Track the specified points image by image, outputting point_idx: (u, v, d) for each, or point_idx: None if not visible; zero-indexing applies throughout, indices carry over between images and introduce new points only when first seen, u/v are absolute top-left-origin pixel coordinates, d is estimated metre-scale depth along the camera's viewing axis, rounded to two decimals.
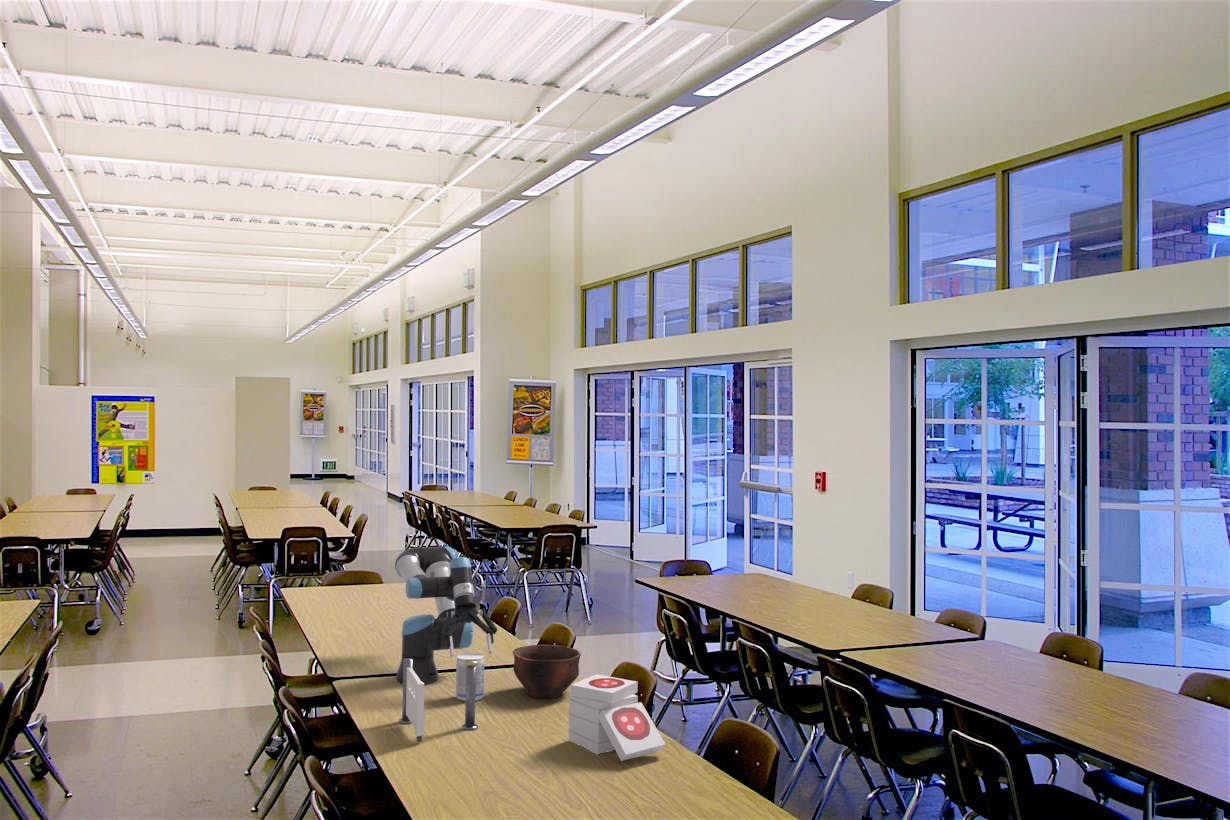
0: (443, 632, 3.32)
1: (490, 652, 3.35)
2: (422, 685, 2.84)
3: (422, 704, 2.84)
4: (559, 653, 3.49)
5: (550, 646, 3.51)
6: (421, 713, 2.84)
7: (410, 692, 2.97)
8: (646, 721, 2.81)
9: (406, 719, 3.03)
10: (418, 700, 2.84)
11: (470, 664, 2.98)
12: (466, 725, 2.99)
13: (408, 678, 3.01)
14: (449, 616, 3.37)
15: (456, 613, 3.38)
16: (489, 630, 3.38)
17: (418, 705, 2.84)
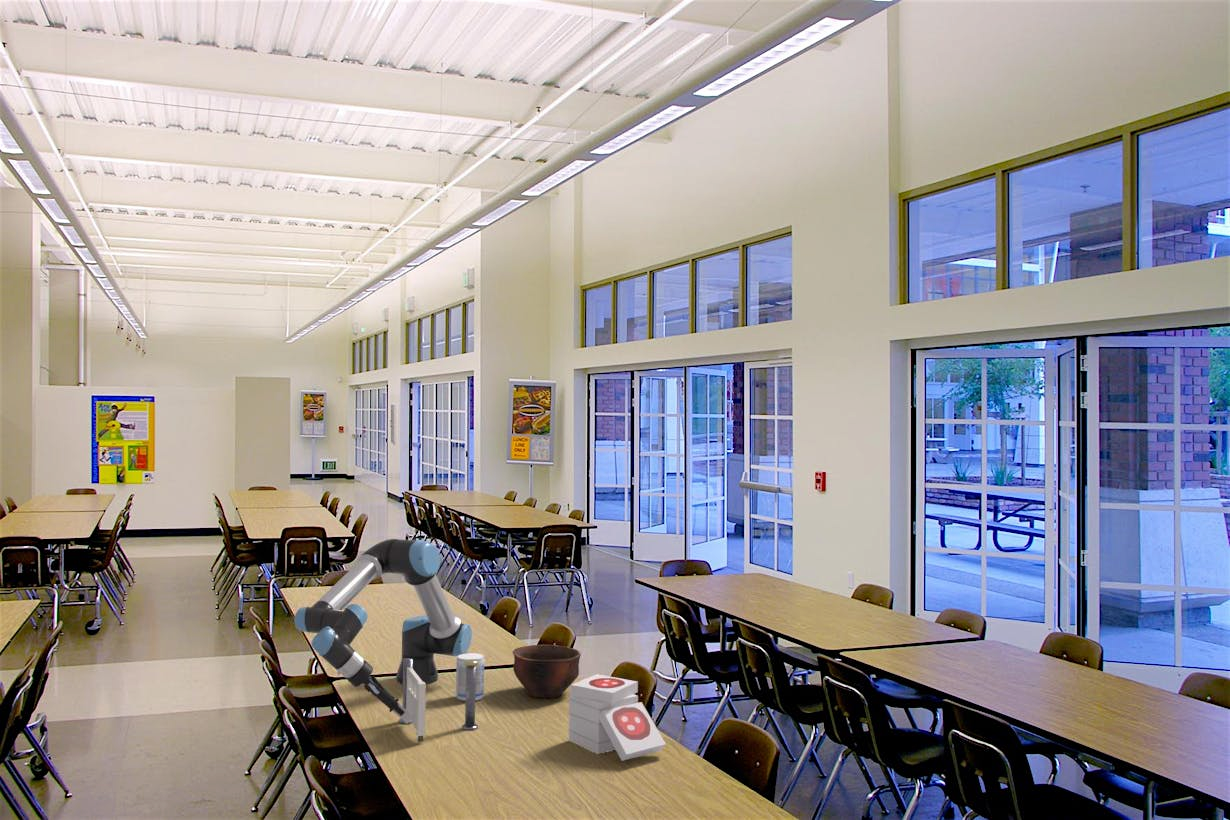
0: None
1: (410, 719, 2.91)
2: (423, 685, 2.85)
3: (423, 704, 2.84)
4: (559, 653, 3.49)
5: (550, 646, 3.51)
6: (422, 713, 2.84)
7: (410, 692, 2.97)
8: (646, 721, 2.81)
9: None
10: (419, 700, 2.84)
11: (470, 664, 2.98)
12: (466, 725, 2.99)
13: (408, 678, 3.01)
14: None
15: None
16: None
17: (419, 705, 2.84)
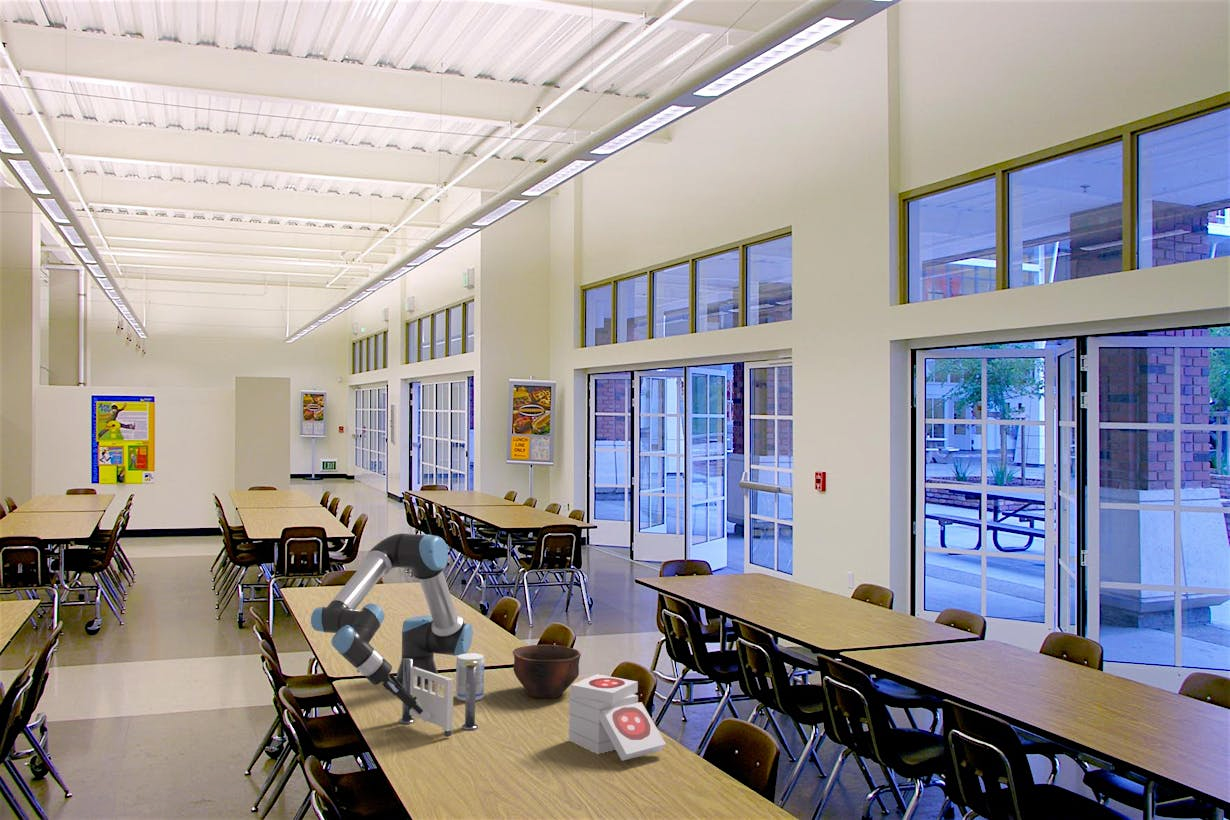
0: None
1: None
2: (451, 680, 2.90)
3: (451, 699, 2.90)
4: (559, 653, 3.49)
5: (550, 646, 3.51)
6: (451, 708, 2.90)
7: (421, 690, 2.99)
8: (646, 721, 2.81)
9: (406, 719, 3.03)
10: (448, 695, 2.89)
11: (470, 664, 2.98)
12: (466, 725, 2.99)
13: (413, 677, 3.02)
14: None
15: None
16: None
17: (448, 700, 2.89)
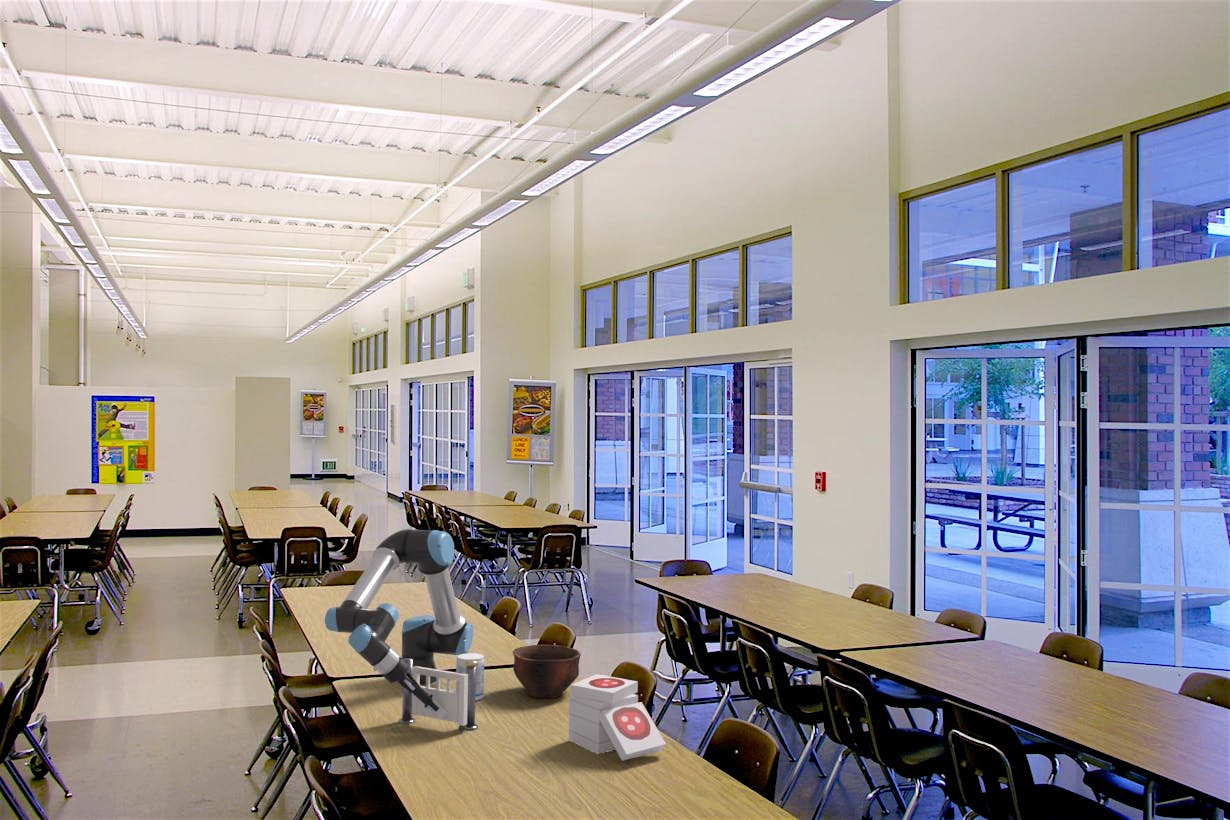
0: None
1: (444, 715, 2.96)
2: (467, 676, 2.96)
3: (466, 694, 2.96)
4: (559, 653, 3.49)
5: (550, 646, 3.51)
6: (466, 703, 2.95)
7: (428, 689, 3.01)
8: (646, 721, 2.81)
9: (406, 719, 3.03)
10: (464, 691, 2.95)
11: (470, 664, 2.98)
12: (466, 725, 2.99)
13: (417, 677, 3.03)
14: None
15: None
16: None
17: (464, 695, 2.95)
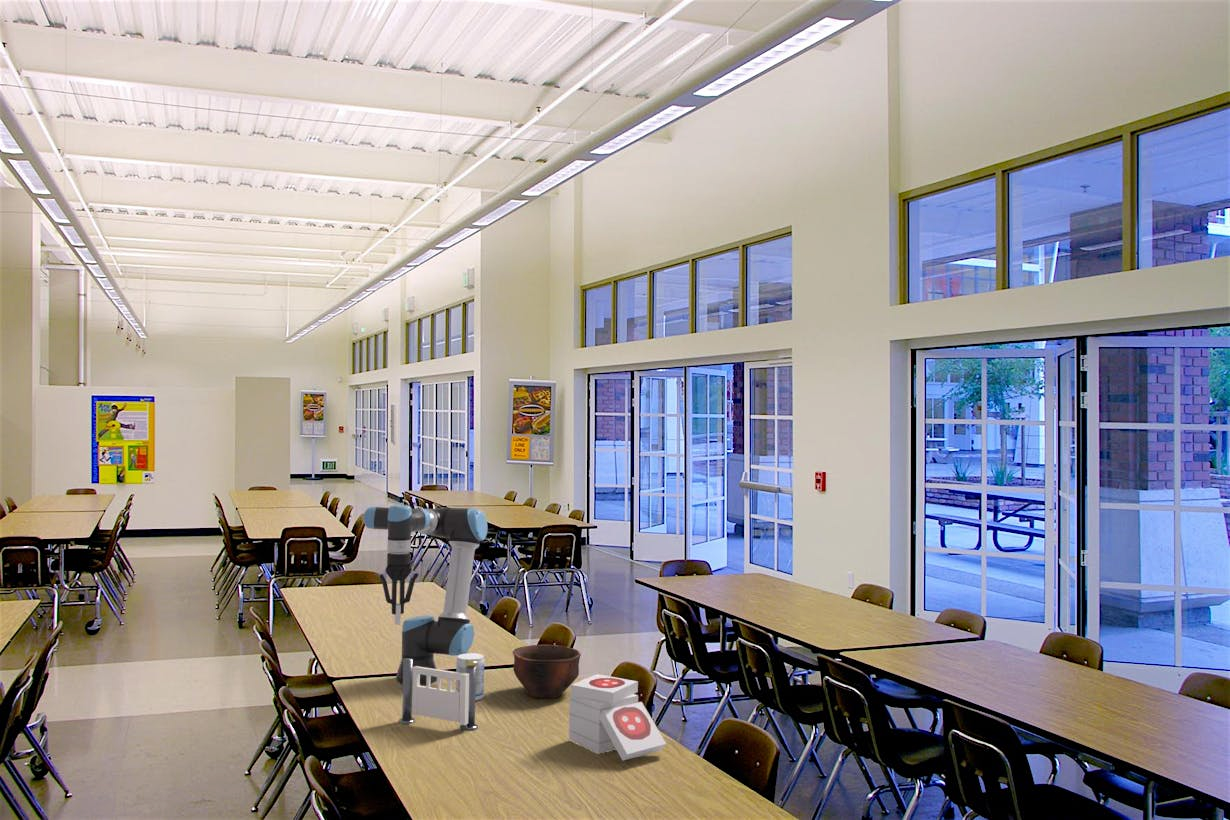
0: (389, 600, 3.12)
1: None
2: (468, 675, 2.96)
3: (468, 693, 2.96)
4: (559, 653, 3.49)
5: (550, 646, 3.51)
6: (467, 702, 2.96)
7: (428, 689, 3.01)
8: (646, 721, 2.81)
9: (406, 719, 3.03)
10: (465, 690, 2.95)
11: (470, 664, 2.98)
12: None
13: (417, 677, 3.03)
14: (384, 581, 3.11)
15: (388, 573, 3.12)
16: (402, 600, 3.13)
17: (465, 695, 2.95)
